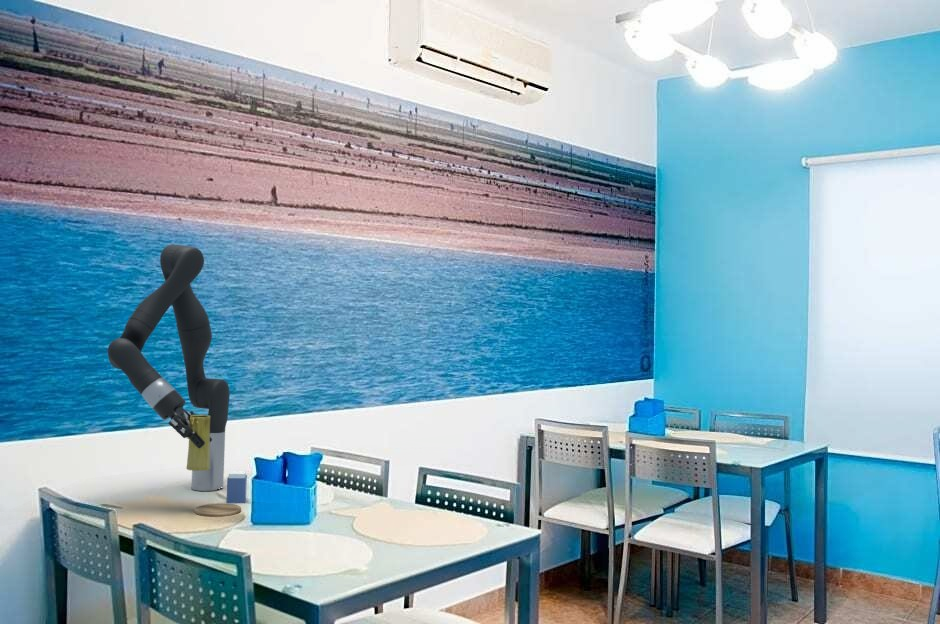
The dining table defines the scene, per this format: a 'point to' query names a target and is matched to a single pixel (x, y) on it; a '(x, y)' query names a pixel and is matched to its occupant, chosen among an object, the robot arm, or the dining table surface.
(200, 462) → the vase
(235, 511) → the disc
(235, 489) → the slate blue block
